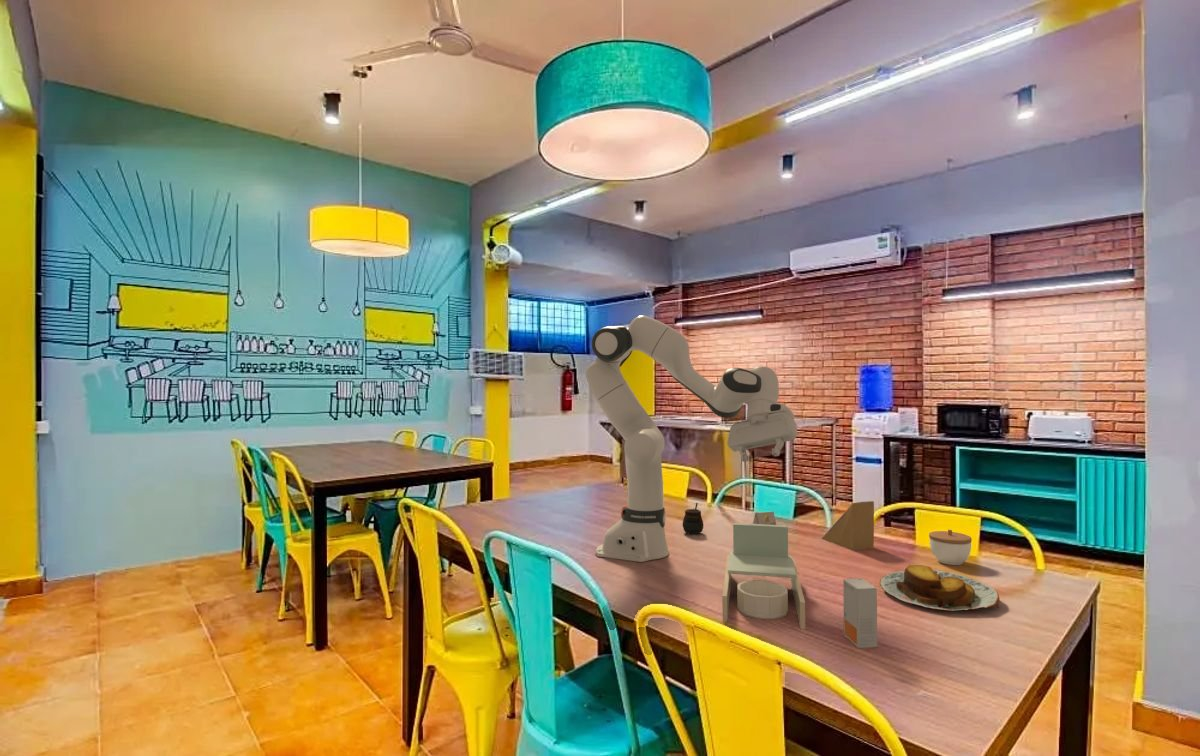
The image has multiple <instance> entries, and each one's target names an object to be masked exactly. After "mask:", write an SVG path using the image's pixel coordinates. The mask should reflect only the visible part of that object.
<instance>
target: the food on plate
mask: <svg viewBox="0 0 1200 756" xmlns="http://www.w3.org/2000/svg"><path fill="white" fill-rule="evenodd" d="M879 586H880V587H881V588H882V590H883V591H884V592H887V593H888V594H889V595H890V596H893V597H895V598H897V600H901V601H903V602H905V603H909V604H914V605H917V606H922V607H924V608H930V609H932V610H933V609H934V610H941V611H942V610H944V611H951V612H954V611H962V610H965V611H966V610H975V609H979V608H990V607H992V606H994V607H995V608H997V609H999V608H1000V607H999V604H1000V603H999V602H1000V595H999V593H998V592H997V591H996V589H995V588H993V587H992V586H990V585H989V584H987V583H984V582H982V581H981V580H978V579H976V578H975V579H974V578H972V577H968V576H966V575H962V574H959V573H955V572H947V571H944V570H938V569H937V570H934V569H932V567H930V566H927V565H921V564H913V565H910V564H909V565H908V566H907V567H905V569H904V570H897V571H893V572H889V573H887V574H885V575H883V576H882V577H881V578H880V580H879ZM903 596H905V597H906V598H904V597H903ZM907 598H908V599H907ZM909 599H910V600H909ZM977 616H978V615H975V617H977Z"/></svg>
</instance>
